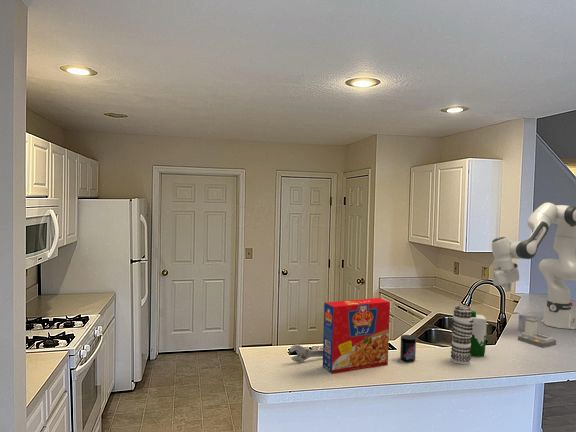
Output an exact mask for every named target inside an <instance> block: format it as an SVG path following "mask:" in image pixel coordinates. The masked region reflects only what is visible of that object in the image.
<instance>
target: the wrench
mask: <svg viewBox="0 0 576 432" xmlns="http://www.w3.org/2000/svg"><path fill="white" fill-rule="evenodd" d="M296 351H297V353H296V355H294V356H292V357H291V358H290V359H291V361H293V362H296V363H300V364H303V363H304V362H305V360H308V359H309V358H316V357H317V358H318V357H319V358H320V357H322V358H323V348H322V349H308V348H306V347H303V346H302V345H300V344H293V345H292V346H290V347H289V351H288V352H290V353H293V352H296Z"/></svg>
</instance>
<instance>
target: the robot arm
mask: <svg viewBox="0 0 576 432" xmlns="http://www.w3.org/2000/svg"><path fill="white" fill-rule="evenodd" d="M551 224H555V225H557V228H556V231H555V235H554V242H553V247H552V248H553V250H554V251H555V252H556V253H557V255H558V259H556V258H544V259H542V260H541V261H540V262H539V264H538V270H539V272H540V273H541V274H542V276H543V278H544V279H545V281H546V285H547V300H546V307H545V308H544V311H543V317H542V318H543V319H541V320H540V322H542V323H543V325H546V326H548V327H553V328H558V329H568V330H576V313H575V312H574V311H573V310H572V307H573V306H574V303H573V302H570V301H571V290H570V288H569V287H568V286H567V285H566V283H565V281H573V282H574V281H576V206H575V205H565V204H559V205H557V204H556V205H555V203H553V202H544V203H542V204H541V205H539V206H538V207H537V208H536V209H535V210H534V211H533V212H532V213H531V215H530V216H529V217H528V219H527V226H528V228H529V229H530V230H531V231H532V232H531V233H530V235H529V236H528V238H527V239H524V240H518V241H514V240H511V239H509V238H507V237H506V236H502V237H496V238H494V239H492V241H491V250H492V251H491V252H492V255H493V258H494V260H493V263H494V269H493V271H492V275H491V276H492V284H493V285H494V286H495V287H496V286H497V287H498V286H502V287H503V288H504V292H505V293H508V292H512V283H513V282H518V281H520V271H519V269H518V268H519V266H518V263H516V262H513V260H514V259H517V260H519V259H521V260H522V259H523V260H531V259H533V258H535V256H536V254H537V252H538V249H539V247H540V245H541V243H542V242H543V240H544V239H545V236H546V235H547V234H548V232H549V230H550V229H549V228H550V226H551ZM512 259H513V260H512ZM564 280H565V281H564Z"/></svg>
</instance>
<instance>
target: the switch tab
mask: <svg viewBox="0 0 576 432" xmlns="http://www.w3.org/2000/svg"><path fill="white" fill-rule="evenodd" d="M525 320H526V323H525V333H526V334H529V335H533V336H536V337H537V334H538V322H539V319H532V318H527V319H525Z"/></svg>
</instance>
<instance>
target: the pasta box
mask: <svg viewBox="0 0 576 432" xmlns="http://www.w3.org/2000/svg"><path fill="white" fill-rule="evenodd" d="M390 306H391V302H390V301H388V300H386V299H383V298H380V297H373V298H364V299H362V298H361V299H351V300H350V299H349V300H337V301H328V302H327V301H325V302H324V303H323V307H324V308H323V342H322V343H323V346H322V349H323V357H322V368H324V370H326V371H327V372H329V374H331V375H334V374H341V373H342V374H343V373H347V372H352V371H353V372H354V371H359V370H364V369H365V370H366V369H372V368H379V367H384V366H388V365H389V344H390V343H389V342H390V341H389V339H390V313H391V312H390V309H391V307H390Z"/></svg>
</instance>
